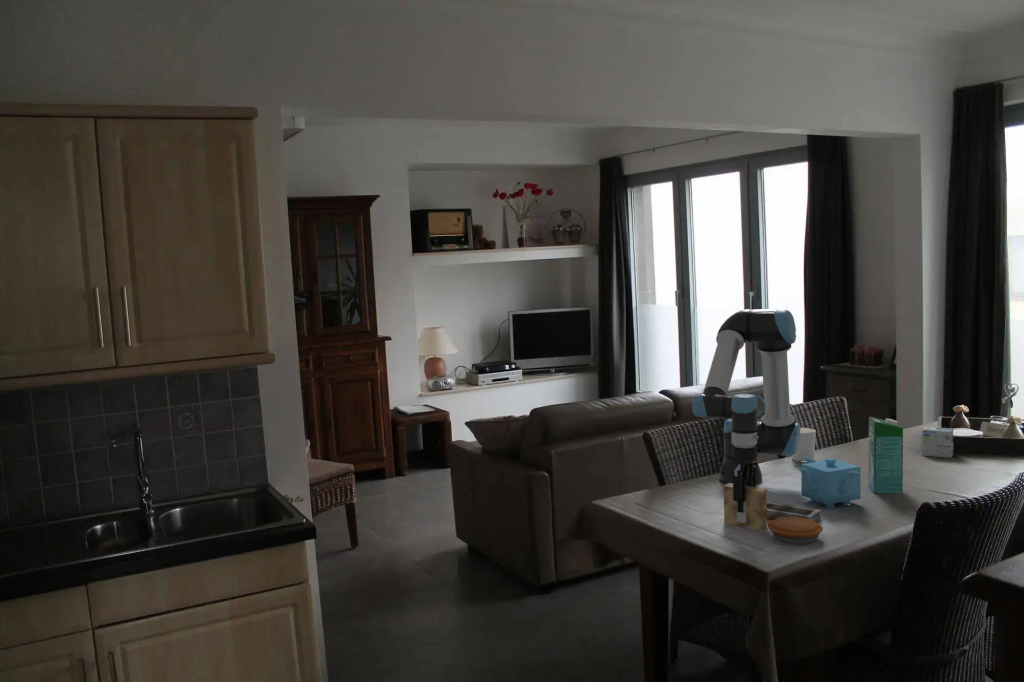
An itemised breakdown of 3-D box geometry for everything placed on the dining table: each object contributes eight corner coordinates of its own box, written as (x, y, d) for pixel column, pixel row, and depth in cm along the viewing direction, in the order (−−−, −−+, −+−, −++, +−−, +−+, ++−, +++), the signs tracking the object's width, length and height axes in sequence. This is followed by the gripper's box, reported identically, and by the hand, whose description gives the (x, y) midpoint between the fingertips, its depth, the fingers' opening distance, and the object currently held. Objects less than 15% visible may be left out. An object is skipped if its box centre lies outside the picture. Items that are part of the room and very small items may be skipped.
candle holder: (784, 458, 339) (784, 429, 338) (805, 455, 342) (805, 426, 341) (800, 463, 330) (800, 433, 329) (821, 461, 333) (821, 431, 332)
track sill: (747, 516, 267) (747, 507, 267) (759, 509, 274) (759, 500, 274) (810, 527, 255) (810, 517, 254) (820, 519, 262) (820, 510, 261)
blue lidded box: (860, 497, 283) (861, 454, 282) (859, 513, 266) (860, 467, 265) (801, 493, 291) (801, 451, 290) (797, 508, 274) (796, 464, 272)
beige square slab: (724, 523, 261) (723, 485, 260) (730, 520, 264) (729, 482, 263) (761, 530, 253) (760, 491, 252) (766, 526, 257) (766, 488, 256)
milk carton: (902, 493, 285) (903, 421, 283) (874, 493, 287) (874, 421, 285) (895, 486, 294) (896, 416, 292) (868, 486, 296) (868, 416, 294)
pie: (806, 527, 255) (806, 511, 254) (833, 544, 240) (833, 527, 239) (758, 532, 252) (758, 516, 252) (782, 549, 237) (782, 532, 237)
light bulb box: (953, 454, 336) (953, 428, 335) (951, 458, 330) (952, 431, 329) (923, 452, 341) (924, 426, 340) (921, 455, 336) (922, 429, 335)
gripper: (744, 452, 247) (745, 529, 250) (767, 441, 261) (768, 514, 263) (720, 449, 252) (721, 525, 254) (744, 438, 266) (745, 510, 268)
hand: (745, 519), depth 259 cm, fingers closed on beige square slab, 4 cm apart
